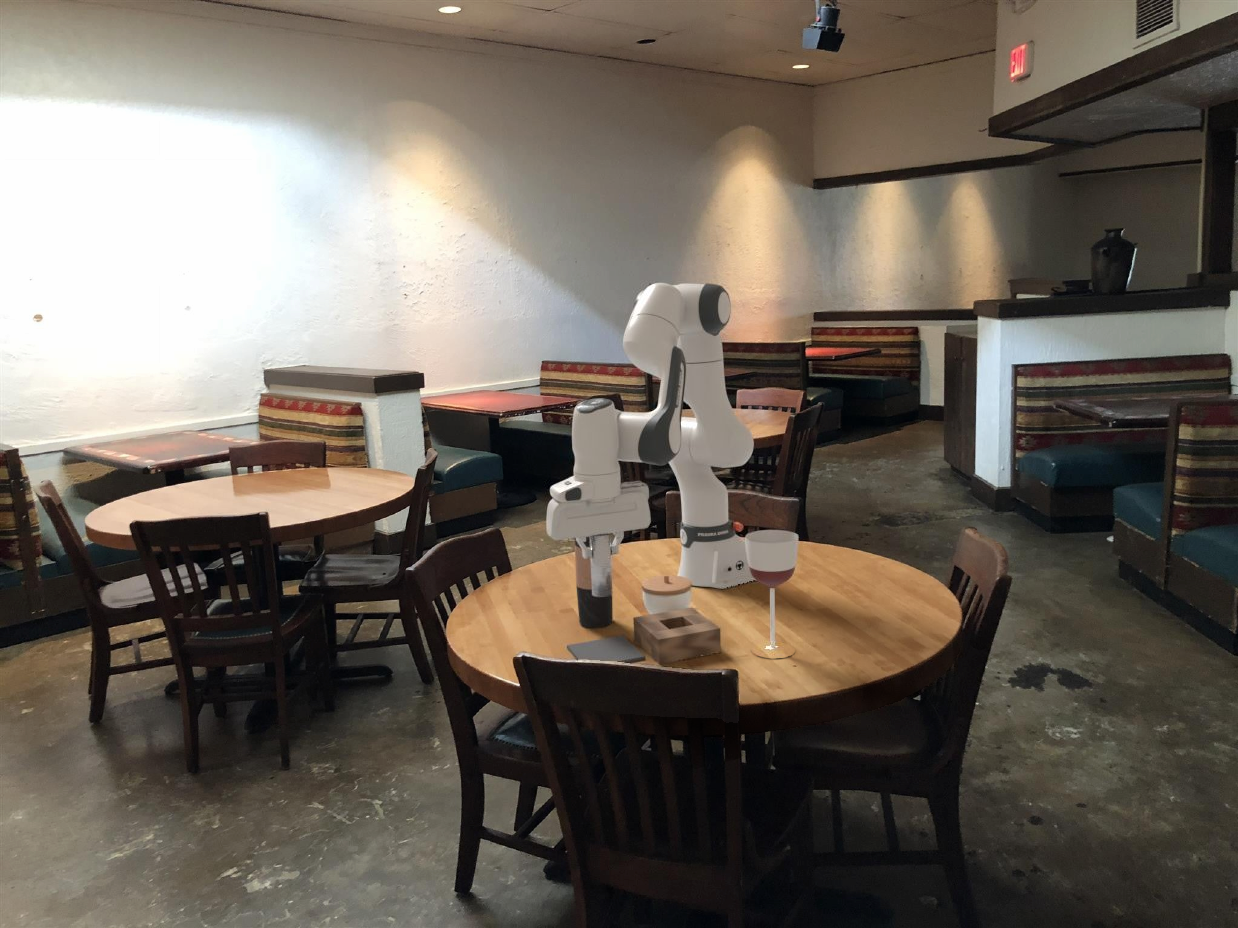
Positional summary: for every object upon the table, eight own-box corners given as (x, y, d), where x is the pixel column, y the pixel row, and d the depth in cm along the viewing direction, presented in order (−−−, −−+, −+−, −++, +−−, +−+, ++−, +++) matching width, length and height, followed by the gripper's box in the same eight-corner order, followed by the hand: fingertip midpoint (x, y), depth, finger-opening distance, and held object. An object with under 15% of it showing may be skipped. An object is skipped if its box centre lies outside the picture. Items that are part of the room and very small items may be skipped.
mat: (622, 637, 191) (622, 635, 191) (645, 659, 180) (644, 656, 180) (566, 648, 187) (566, 645, 187) (586, 670, 176) (585, 667, 176)
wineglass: (742, 643, 186) (740, 531, 181) (791, 639, 187) (791, 528, 182) (752, 661, 177) (751, 544, 172) (804, 657, 178) (804, 541, 173)
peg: (608, 588, 184) (606, 530, 181) (615, 595, 180) (613, 534, 178) (589, 592, 182) (586, 532, 180) (596, 598, 179) (593, 537, 176)
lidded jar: (654, 606, 209) (653, 565, 207) (699, 611, 204) (698, 570, 203) (634, 622, 200) (633, 580, 198) (681, 628, 195) (680, 585, 193)
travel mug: (587, 631, 196) (583, 539, 192) (572, 620, 202) (567, 531, 198) (620, 623, 199) (616, 533, 195) (604, 613, 206) (599, 525, 202)
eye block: (692, 630, 194) (691, 607, 193) (720, 652, 182) (720, 628, 181) (634, 640, 189) (633, 617, 188) (659, 664, 177) (658, 639, 176)
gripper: (642, 476, 183) (644, 544, 186) (541, 488, 176) (545, 558, 179) (654, 482, 178) (656, 552, 180) (551, 494, 171) (555, 567, 173)
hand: (600, 555), depth 180 cm, fingers closed on peg, 4 cm apart
